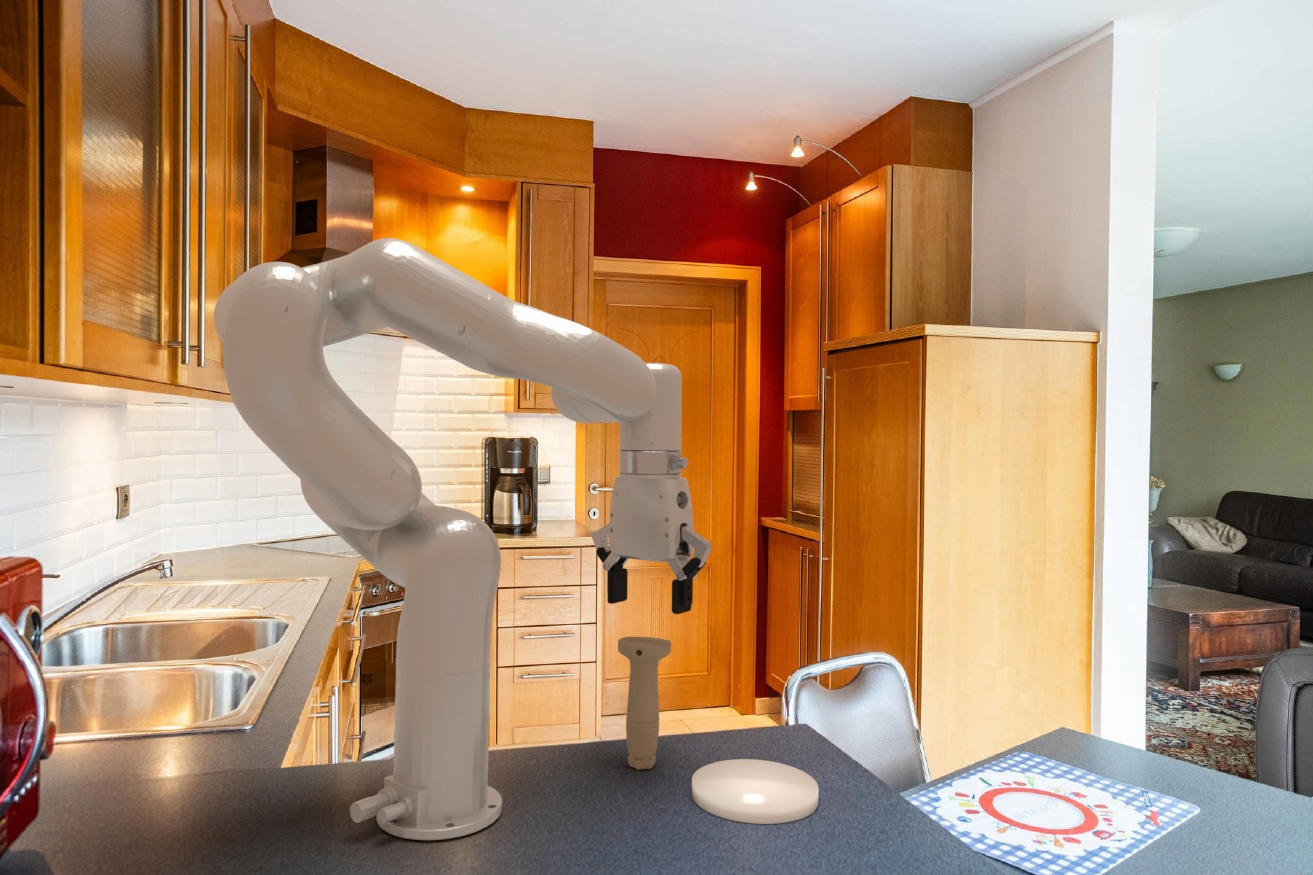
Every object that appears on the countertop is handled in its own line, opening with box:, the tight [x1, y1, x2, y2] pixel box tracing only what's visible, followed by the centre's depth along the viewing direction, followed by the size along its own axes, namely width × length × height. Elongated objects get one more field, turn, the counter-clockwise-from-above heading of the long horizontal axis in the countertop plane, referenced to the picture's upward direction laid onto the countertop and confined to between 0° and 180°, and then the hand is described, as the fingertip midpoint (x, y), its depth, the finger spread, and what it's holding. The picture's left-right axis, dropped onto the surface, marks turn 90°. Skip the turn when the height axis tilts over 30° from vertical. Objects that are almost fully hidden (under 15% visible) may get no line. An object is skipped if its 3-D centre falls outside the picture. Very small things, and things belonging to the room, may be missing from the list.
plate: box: [691, 758, 820, 825], centre depth 95 cm, size 14×14×2 cm
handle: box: [617, 636, 672, 771], centre depth 103 cm, size 5×6×15 cm
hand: (648, 606), depth 104 cm, fingers open, 9 cm apart
